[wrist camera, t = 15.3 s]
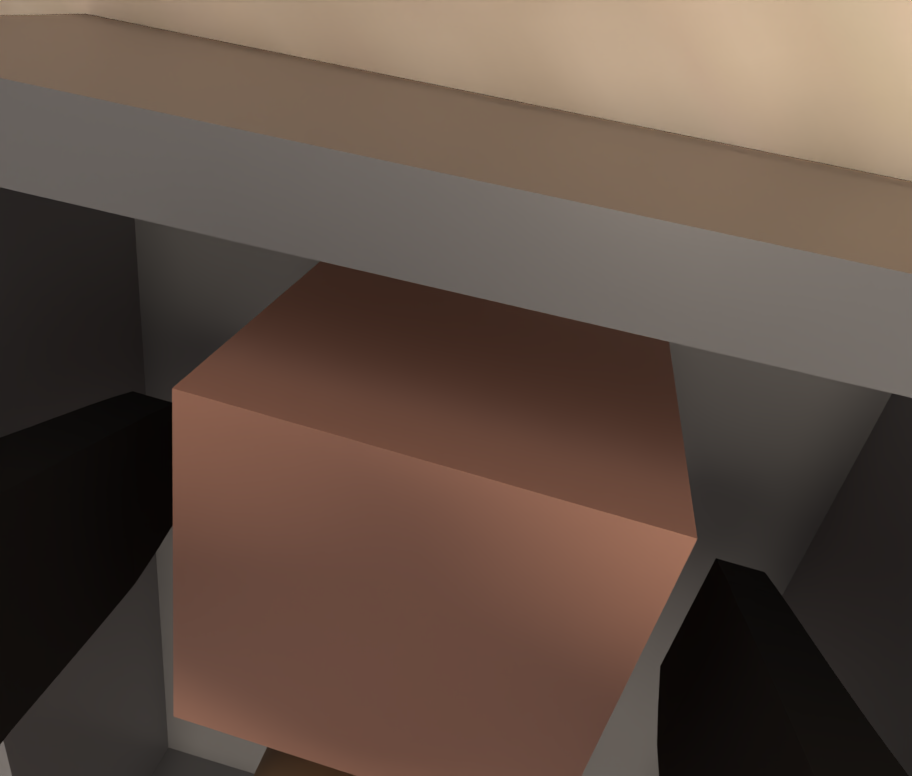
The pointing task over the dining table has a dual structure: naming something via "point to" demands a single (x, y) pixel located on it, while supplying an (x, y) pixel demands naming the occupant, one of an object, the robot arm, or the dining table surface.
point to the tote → (470, 273)
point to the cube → (422, 528)
